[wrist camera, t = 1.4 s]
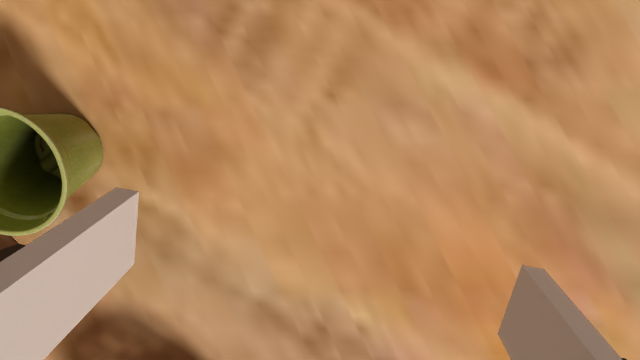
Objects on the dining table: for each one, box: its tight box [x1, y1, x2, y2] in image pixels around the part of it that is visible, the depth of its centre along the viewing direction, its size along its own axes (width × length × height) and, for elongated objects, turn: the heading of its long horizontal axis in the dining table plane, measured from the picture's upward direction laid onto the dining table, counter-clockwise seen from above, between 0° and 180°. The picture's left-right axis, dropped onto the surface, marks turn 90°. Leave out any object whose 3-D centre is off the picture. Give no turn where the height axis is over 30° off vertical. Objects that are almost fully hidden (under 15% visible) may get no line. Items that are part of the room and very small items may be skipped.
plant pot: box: [0, 107, 103, 236], centre depth 36 cm, size 9×9×9 cm
